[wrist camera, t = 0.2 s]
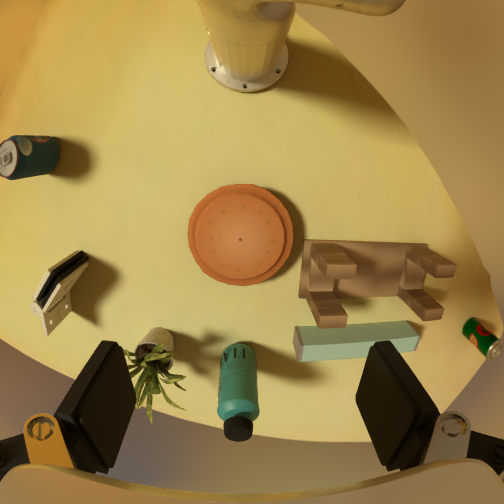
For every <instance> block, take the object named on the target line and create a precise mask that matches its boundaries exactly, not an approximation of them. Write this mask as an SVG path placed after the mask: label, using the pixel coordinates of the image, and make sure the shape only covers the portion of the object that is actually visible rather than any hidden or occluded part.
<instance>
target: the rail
mask: <svg viewBox="0 0 504 504" xmlns="http://www.w3.org/2000/svg"><path fill="white" fill-rule="evenodd" d="M420 338H421V335H420V334H419V333H418V332H417V330H416V329H415V328H414V327H413V326H412V325H411V324H410V323H409V321H408V320H407V321H395V322H383V323H369V324H352V325H346V327H345V328H327V329H319V328H318V326H295V330H294V338H293V344H294V348H295V352H296V356H297V360H298V362H306V361H325V360H339V359H352V358H362V357H367V356H368V352H369V349H370V347H371V346H373V345H374V343H375V342H377V341H385V340H390V341H391V342H392V344H393V345H394V346H395V348H396V349H397V350H398V352H399V353H403V352H410V351H416V349H417V346H418V344H419V341H420Z"/></svg>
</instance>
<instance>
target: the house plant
mask: <svg viewBox="0 0 504 504" xmlns="http://www.w3.org/2000/svg"><path fill="white" fill-rule="evenodd" d="M126 350H127V349H126ZM126 350H124V349H123V352H124V355H127V356H128V358H129V360H130V361H131V362H132V363H134V364H135V365H127V367H128V370H129V369H131V368H134V367H137V366H138V367H137V368H136V369H135V370H133V371H132V372H130V373H129V374H130V377H131V378H132V377H134V376H135V375H136V374H138V373H139V372H140V371H141V369H142V368H143V369H144V371H143V372H142V374H141V375H140V377H139V379H138V381H137V384H136V386H135V388H134V390H135V393H136V398H137V401H136V409H137V407H138V409H139V408H140V407H141V405H142V404H143V401H144V399H145V397H146V395H147V413H148V416H149V418H150V421H151V423H153V421H152V394H160V393H161V391H162V393H163V395H164V398H165V399H166V401H167V402H168V403H169V404H171V405H172V406H174V407H178V408H180V409H182V410H185V409H183V408H181V407H179V406H178V405H176V404H175V403H174V402H173V401H171V400H170V398H169V397H168V396H167V394H166V393H165V391H164V389H163V387H162V385H161V384H160V382H159V379H158V374H161V375H162V373H163V374H164V375H165V376H166V377H168V378H169V379H167V380H164V379H161V378H160V379H161V380H162V381H163V382H164V383H166V384H172V383H174V384H175V385H176V386H177V387H178V388H180V389H182V390H184V391H186V390H185V389H183V388H182V387H181V386H179V385H178V383H177V381H180V380H182V379H184V378H185V377H186V376H182V375H174V374H170V373H169V372H168V370H170V369H171V367H172V364H173V359H174V358H175V357H173V351H174V338H173V336H172V334H171V333H170V332H169V331H168V330H166V329H164V328H158V327H157V328H153V329H151V330H150V331H149V333H148V334H147V335H146V336H145V337H144V338H143V339H142V341H141V342H140V343H139V344H138V345H137V346H136V348H135V350H134V353H132V352H129V351H126ZM129 356H134V357H135V360H132V359H130V357H129ZM157 373H158V374H157ZM162 376H163V375H162ZM163 377H164V376H163ZM164 378H165V377H164ZM145 383H146V385H145V388H144V391H143V393H142V396H141V398H140V393H141V390H142V388H143V386H144V384H145ZM158 384H159V385H158ZM159 386H160V387H159ZM160 388H161V390H160ZM139 398H140V401H139ZM138 402H139V406H138ZM186 411H187V410H186Z"/></svg>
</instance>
